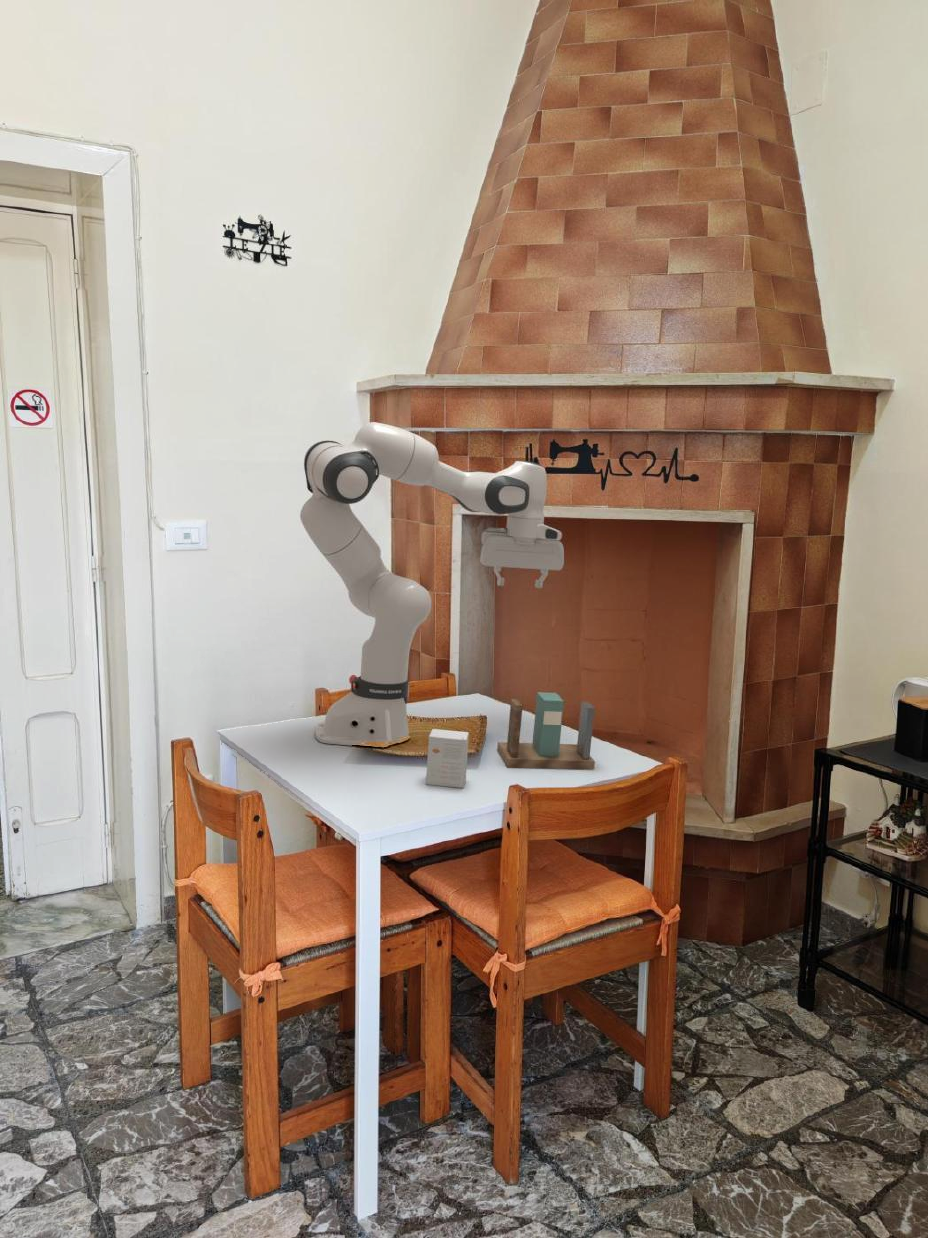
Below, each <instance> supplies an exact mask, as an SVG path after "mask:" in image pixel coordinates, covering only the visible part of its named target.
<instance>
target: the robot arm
mask: <svg viewBox="0 0 928 1238" xmlns="http://www.w3.org/2000/svg"><path fill="white" fill-rule="evenodd" d="M303 469H304V472H305V473H304V474H305V480H306V488H307V490H308V491H309V492H310V493H311V494H312V495H311V497H310V498H309V499H307V500H306V501H305V503H304V504H303V506H302V507H301V510H300V514H299V517H300V521H301V522H300V523H301V524H302V526H303V529H305V531H306V533H307V535H308V536H309V538H310V539H311V541H312V542H313V543H314V545H315V547H316V548H317V549H318V551H319V552H320V554H322V556H323V557H324V558H325V559H326V561H327V562H328V563H329V564H330V565H331V567H332V568H333V569H334V570H335V572H337V574H338V575H339V577H340V578H341V580H342V582H343V583H344V585H345V588H346V589H347V590H348V591H347V592H348V599H349V600H350V602H351V604H352V606H354V607H355V608H356V609H357V610H358V611H359V612H361V613H362V614H364V615H365V616H369V617H371V618H374V626H373V629H372V632H371V634H370V637H369V638H367V640H365V641H364V642H363V645H362V647H361V661H360V675H359V676H357V675H354V674H352V675H350V676H349V679H348V680H349V684H350V692H349V693H347V694H346V695H344V696H343V697H341V698H340V699H339V700H337V701H336V702H334V703H332V704H331V705H330V706H329V708H328V710H327V712H326V715H325V718H324V719H325V720H324V722H322V723H319V724H318V725H317V726H315V729H314V730H315V731H314V738H315V739H316V740H317V741H318V742H320V743H323V744H327V745H328V744H329V745H339V746H340V745H342V746H352V744H353V745H354V744H361V743H368V742H375V741H380V742H387V743H388V742H393V741H398V740H400V739H402V738H404V737H406V736H407V735H408V734H410V729H409V724H408V715H407V714H408V712H407V711H408V710H407V704H408V700H409V695H410V684H409V683H410V681H409V679H408V673H409V671H408V670H409V660H410V650H411V645H412V642H413V640H414V637H415V634H416V632H417V629H418V628H419V626H420V625H422V624H423V623H424V622H425V621H426V620H427V619H428V617H429V616H430V613H431V611H432V598H431V594H430V593H429V591H428V590H427V589H426V587H424V586H422V585H421V584H420V583H418V582H417V581H415V580H413V579H410V578H407V577H404V576H400V575H397V574H395V573H393V572H391V571H390V570H389V569H388V568H387V567H386V566H385V564H384V562H383V559H382V557H381V555H382V553H381V552H382V551H381V548H380V545H379V544H378V543H377V541H376V540H375V539H374V537H373V536H372V535H371V534H370V532H369V531H368V530H367V529H366V527H365V526H364V525H363V524H362V522H361V521H360V519H358V517H357V516H356V515H355V513H354V512H353V510H352V508H351V505H353V504H357V503H359V502H361V501H362V500H364V499H365V498H366V496H368V495H369V493H370V492H371V490H372V489H373V486H374V484H375V482H377V480H378V479H379V477H380V476H384V477H386V478H388V479H390V480H393V481H396V482H399V483H401V484H402V483H403V484H405V485H410V486H414V487H423V486H428V487H430V488H432V489H436V490H437V491H440V492H442V493H445V494H447V495H449V496H450V497H452V498H453V499H454V500H455V501H456V502H457V503H458V504H459V505H460V506H461V507H462V508H463V509H465V510H466V511H468V512H470V513H482V514H483V513H484V514H489V515H494V516H495V515H496V516H502V515H503V516H504V515H507V518H506V527H505V528H504V527H488V528H486V529H484V530H483V531H482V532H481V536H480V542H481V544H482V546H481V551H480V556H479V562H480V564H481V565H483V566H485V567H493V572H494V573H495V576H496V578H497V581H496V583H497V586H498V587H499V586H502V587H503V586H505V581H506V580H505V579H506V578H505V577H502V576H501V574H500V572H501V571H502V568H515V569H516V568H517V569H530V570H531V569H532V570H540V574H541V575H540V577H539V578H538V579H535V581H534V582H535V584H534V587H535V588H537V589H541V588H543V583H544V581H545V580H546V578H547V577H548V575H549V571H561V570H562V569H563V567H564V566H565V565H564V564H565V550H564V549H565V548H564V545H563V543H562V541H560V540H561V539H562V537H563V532H561V530H558V529H556V528H553V527H552V526H550V525H547V524H545V515H544V507H545V504H546V500H547V489H548V488H547V487H548V482H547V481H548V478H547V476H548V475H547V471H546V469H545V467H543V466H542V465H541V464H539V463H536V462H533V461H527V460H521V459H520V460H516V461H515V462H514V463H513V464H512V465H510V466H508V467H507V468H505V469H502V470H500V471H496V472H486V471H481V470H477V469H476V470H467V471H464V470H460V469H458V468H456V467H454V466H451V465H448V464H446V463H444V462H442V461H440V456H439V451H438V449H437V447H436V445H434V444H433V443H431V442H430V441H428V440H427V439H425V438H424V437H422V436H420V435H418V434H415V433H414V432H411V431H409V430H406V429H404V428H401V427H397V426H394V425H391V424H386V423H382V422H376V421H372V422H371V421H370V422H368V423H366V424H364V425H363V426H361V428H360V429H359V430H358V432H357V433H356V434H355V437H354V440H353V441H352V442H351V443H350V444H349V445H347V446H345V445H343V444H341V443H340V442H338V441H334V440H322V441H318V442H316V443H314V444H313V445H311V446H310V447H309V448H308V450H307V451H306V453H305V455H304V459H303ZM387 743H385V744H387Z"/></svg>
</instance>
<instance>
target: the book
mask: <svg viewBox="0 0 928 1238" xmlns="http://www.w3.org/2000/svg"><path fill="white" fill-rule="evenodd" d="M535 701H536V703H535V712H534V724H533V736H532V742H531V743H532V747H533V748H534V750H535V751H536V753H537V754H538V755H539V756H552V757H558V755H559V745H560V744H561V733H562V722H563V715H564V713H563V712H564V704H565V702H564V699H562V697H561V696H560V695H559V694H558V693H557V692H541V691H540V692H537V693H536V700H535Z"/></svg>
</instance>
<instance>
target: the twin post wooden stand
mask: <svg viewBox="0 0 928 1238" xmlns="http://www.w3.org/2000/svg"><path fill="white" fill-rule="evenodd" d="M523 707H524V706H523V704H522V703H521V702H520V700H519V699H518V698H511V699H510V710H509V718H508V730H507V731H508V732H507V740H506V742H503V741H499V742H497V749H496V750H497V752H498V754H499V757H501V759H502V761H503V763H504V765H505V766H506V768H507V769H508V768H509V769H510V768H512V769H513V768H514V769H517V768H518V769H548V770H549V769H550V770H551V769H552V770H584V769H594V770H595V764H596V761H595V759H593V757H592V756H591V755H590V758H589V760H583V759H582V758H581V757H580V755H579V754H578V753H577V752H576V751H577V744H575V743H574V744H573V743H570V744H569V743H560V745H559V755H558V757H552V756H539V755H538V754H537V753H536V751H535V750H534V748H533V747H532V743H533V742H520V740H521V739H520V738H521V727H522V717H523Z"/></svg>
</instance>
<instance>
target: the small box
mask: <svg viewBox="0 0 928 1238" xmlns="http://www.w3.org/2000/svg"><path fill="white" fill-rule="evenodd" d="M469 734H470V733H469V732H467V731H461V730H459V731H457V730H449V729H448V730H447V729H437V728H432V729H431V732H430V733H429V735H428V744H427V759H426V774H425V775H426V776H425V784H426V785H429V786H437V787H438V786H440V787H448V788H449V787H450V788H460V789H464V786H465V784H466V783H465V782H466V779H467V768H468V767H467V766H468V765H467V764H468V753H469V752H468V751H469V737H470V736H469Z"/></svg>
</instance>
